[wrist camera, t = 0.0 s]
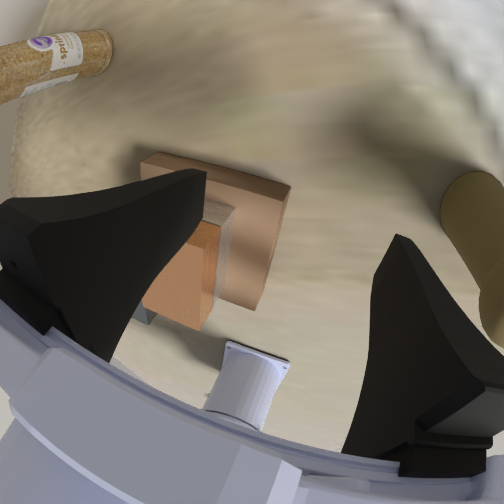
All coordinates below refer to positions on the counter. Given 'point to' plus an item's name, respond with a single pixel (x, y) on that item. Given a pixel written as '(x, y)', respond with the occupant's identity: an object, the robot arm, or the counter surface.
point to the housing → (195, 270)
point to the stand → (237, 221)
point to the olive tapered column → (479, 241)
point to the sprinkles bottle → (51, 61)
